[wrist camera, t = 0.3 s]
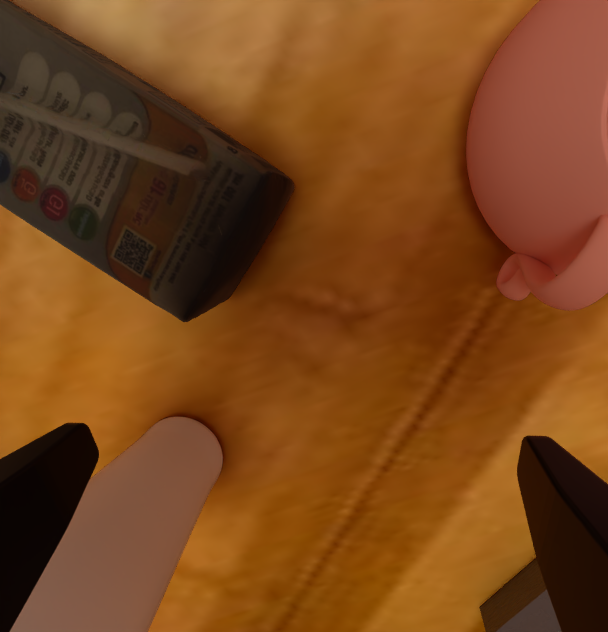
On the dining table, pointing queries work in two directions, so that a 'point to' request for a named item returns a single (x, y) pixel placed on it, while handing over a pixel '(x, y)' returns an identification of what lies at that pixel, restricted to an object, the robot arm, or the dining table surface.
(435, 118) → the dining table surface
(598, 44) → the pink teapot
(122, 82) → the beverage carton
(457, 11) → the dining table surface
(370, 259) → the dining table surface
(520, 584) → the console
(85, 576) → the drinking glass
